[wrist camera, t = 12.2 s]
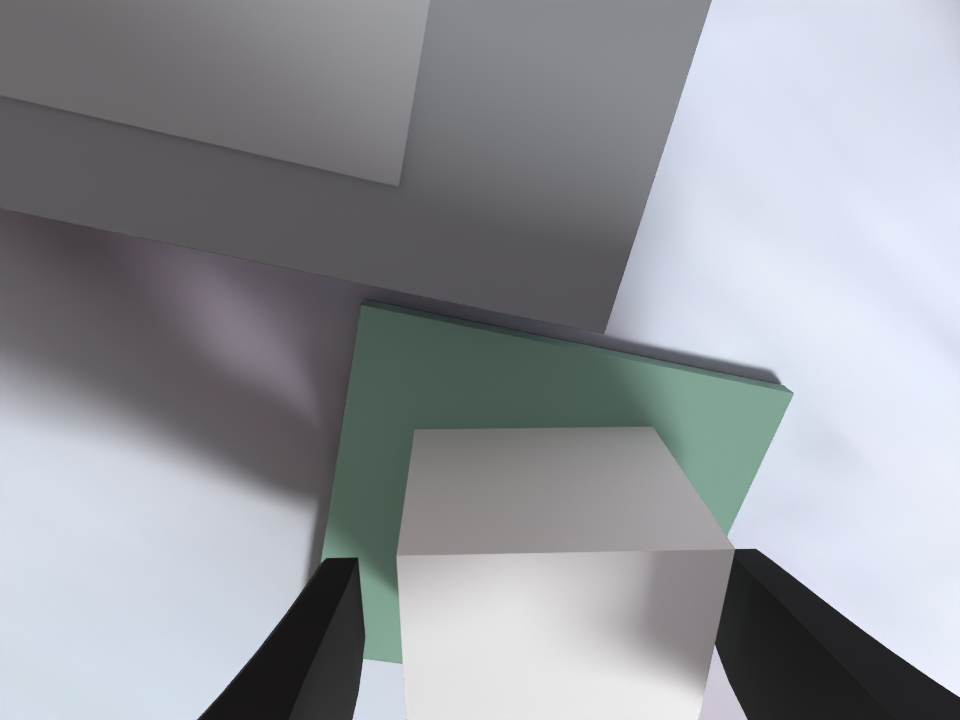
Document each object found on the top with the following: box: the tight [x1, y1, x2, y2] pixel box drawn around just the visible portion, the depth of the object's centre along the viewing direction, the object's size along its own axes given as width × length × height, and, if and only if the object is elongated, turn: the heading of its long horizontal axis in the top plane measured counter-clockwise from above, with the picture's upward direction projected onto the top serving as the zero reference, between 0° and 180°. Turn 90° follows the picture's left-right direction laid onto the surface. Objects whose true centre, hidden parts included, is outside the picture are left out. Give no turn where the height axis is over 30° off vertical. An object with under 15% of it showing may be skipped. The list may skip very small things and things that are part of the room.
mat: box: [321, 299, 794, 664], centre depth 13 cm, size 9×9×1 cm
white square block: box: [397, 427, 735, 720], centre depth 11 cm, size 5×5×4 cm
